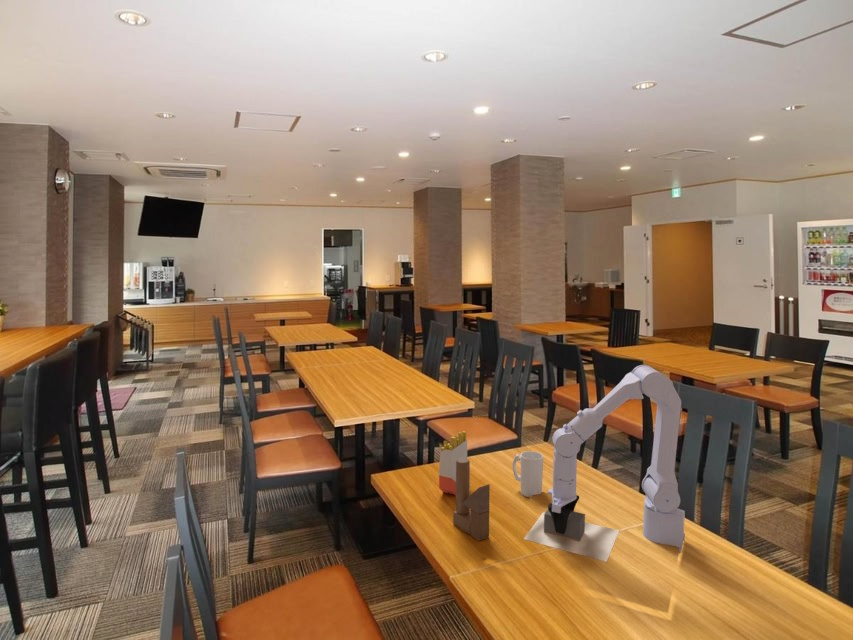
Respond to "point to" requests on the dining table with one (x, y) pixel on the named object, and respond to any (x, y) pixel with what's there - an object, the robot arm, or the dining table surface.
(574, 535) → the block
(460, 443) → the french fries container
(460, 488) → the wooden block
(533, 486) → the mug
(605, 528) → the board
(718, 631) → the dining table surface
